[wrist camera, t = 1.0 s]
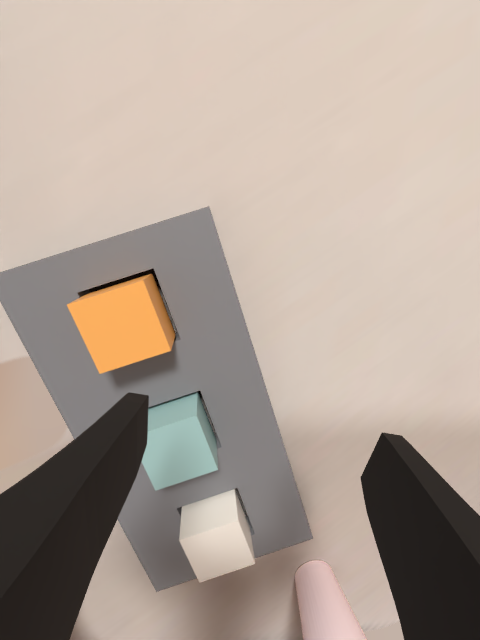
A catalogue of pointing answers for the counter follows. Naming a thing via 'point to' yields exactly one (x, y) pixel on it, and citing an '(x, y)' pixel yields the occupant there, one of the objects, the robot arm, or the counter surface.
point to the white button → (216, 536)
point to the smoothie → (324, 605)
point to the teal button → (179, 442)
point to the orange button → (123, 323)
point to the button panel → (166, 380)
